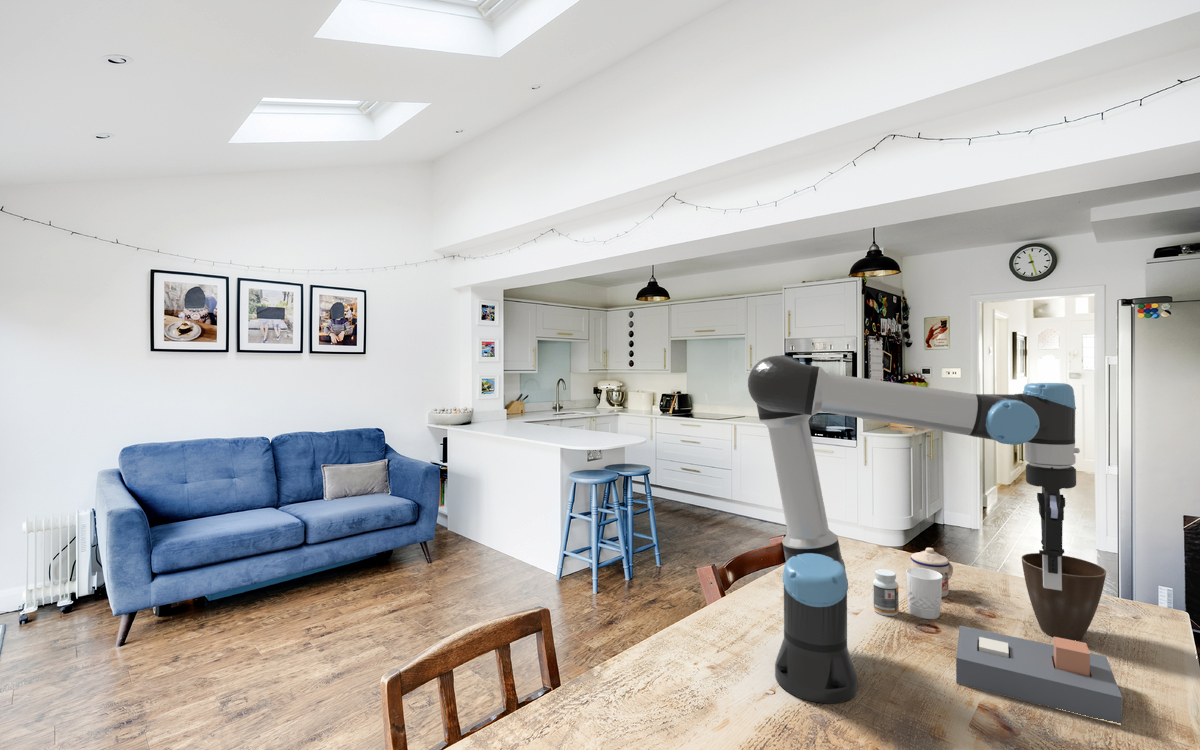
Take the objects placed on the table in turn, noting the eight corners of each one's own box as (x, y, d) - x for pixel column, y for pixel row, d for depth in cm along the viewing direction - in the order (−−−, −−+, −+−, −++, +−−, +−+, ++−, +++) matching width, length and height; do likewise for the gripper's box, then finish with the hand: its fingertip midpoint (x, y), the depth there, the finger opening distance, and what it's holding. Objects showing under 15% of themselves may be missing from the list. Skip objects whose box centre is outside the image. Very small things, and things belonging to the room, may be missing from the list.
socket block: (1121, 726, 97) (1122, 697, 97) (956, 683, 111) (956, 657, 111) (1105, 681, 111) (1106, 656, 110) (959, 647, 124) (959, 625, 124)
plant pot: (1048, 614, 139) (1048, 549, 139) (1121, 642, 125) (1122, 570, 125) (1005, 624, 134) (1006, 557, 134) (1077, 655, 120) (1077, 580, 120)
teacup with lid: (929, 600, 149) (929, 555, 148) (902, 586, 157) (902, 544, 157) (966, 594, 152) (966, 551, 151) (937, 581, 160) (938, 540, 160)
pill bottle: (903, 616, 139) (903, 576, 139) (879, 616, 139) (879, 576, 139) (891, 606, 145) (891, 568, 145) (868, 606, 145) (868, 568, 145)
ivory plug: (1008, 682, 111) (1008, 653, 111) (978, 675, 113) (978, 646, 113) (1007, 671, 115) (1007, 643, 115) (979, 664, 117) (979, 636, 117)
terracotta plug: (1089, 685, 104) (1089, 654, 104) (1055, 677, 107) (1056, 647, 106) (1085, 673, 108) (1086, 643, 108) (1053, 665, 111) (1053, 636, 110)
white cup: (909, 603, 147) (909, 565, 146) (945, 612, 142) (945, 572, 141) (902, 614, 140) (902, 574, 140) (939, 623, 135) (939, 582, 135)
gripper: (1080, 472, 101) (1083, 604, 101) (1071, 460, 111) (1073, 580, 112) (1027, 468, 105) (1030, 596, 105) (1023, 457, 116) (1025, 573, 116)
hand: (1052, 587), depth 109 cm, fingers closed
